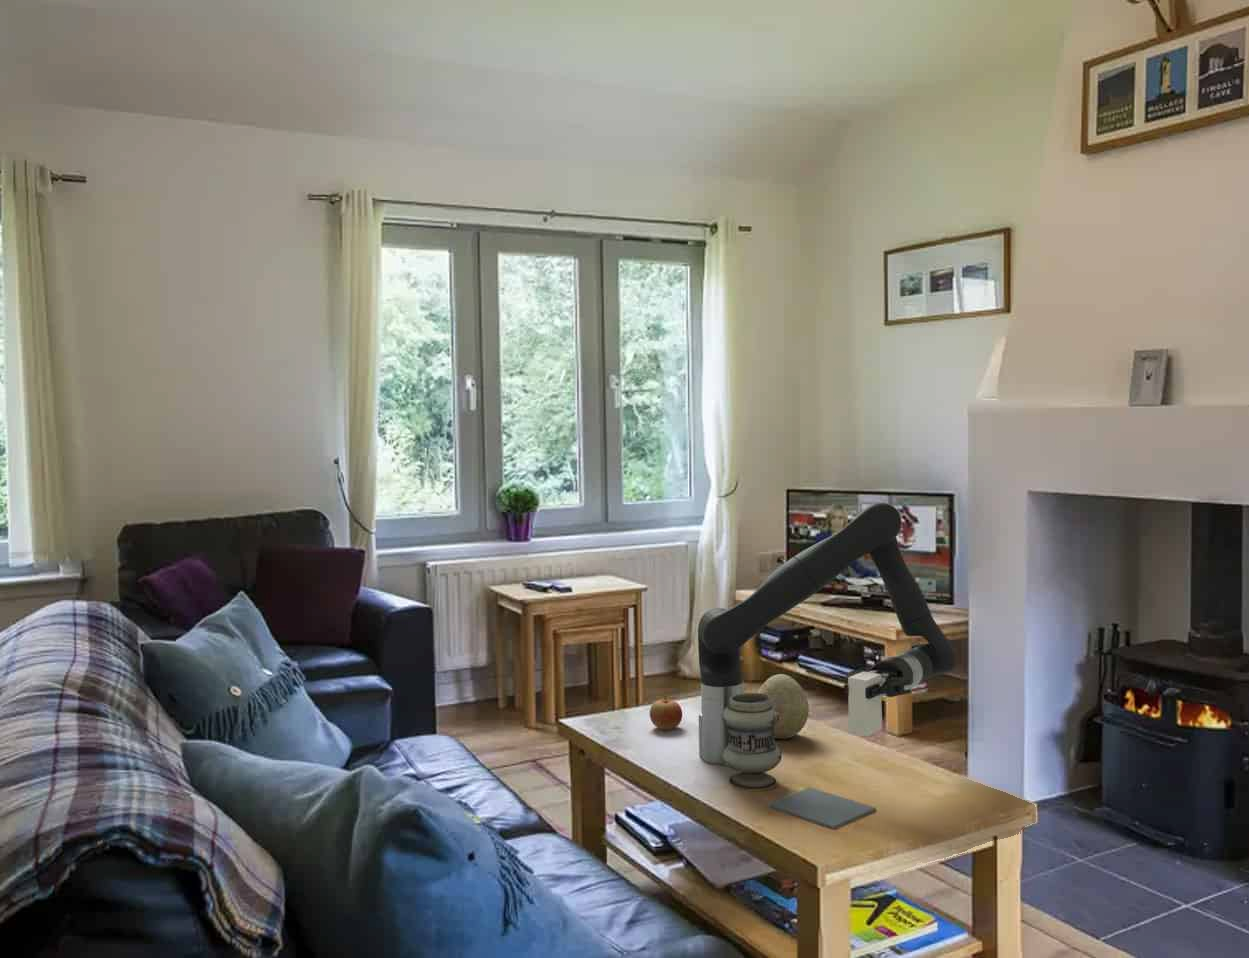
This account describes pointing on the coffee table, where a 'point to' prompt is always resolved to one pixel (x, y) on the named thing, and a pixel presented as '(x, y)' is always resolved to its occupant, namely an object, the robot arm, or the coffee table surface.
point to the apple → (665, 714)
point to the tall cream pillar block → (864, 705)
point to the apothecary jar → (751, 741)
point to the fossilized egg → (787, 704)
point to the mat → (821, 807)
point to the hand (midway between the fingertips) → (856, 691)
